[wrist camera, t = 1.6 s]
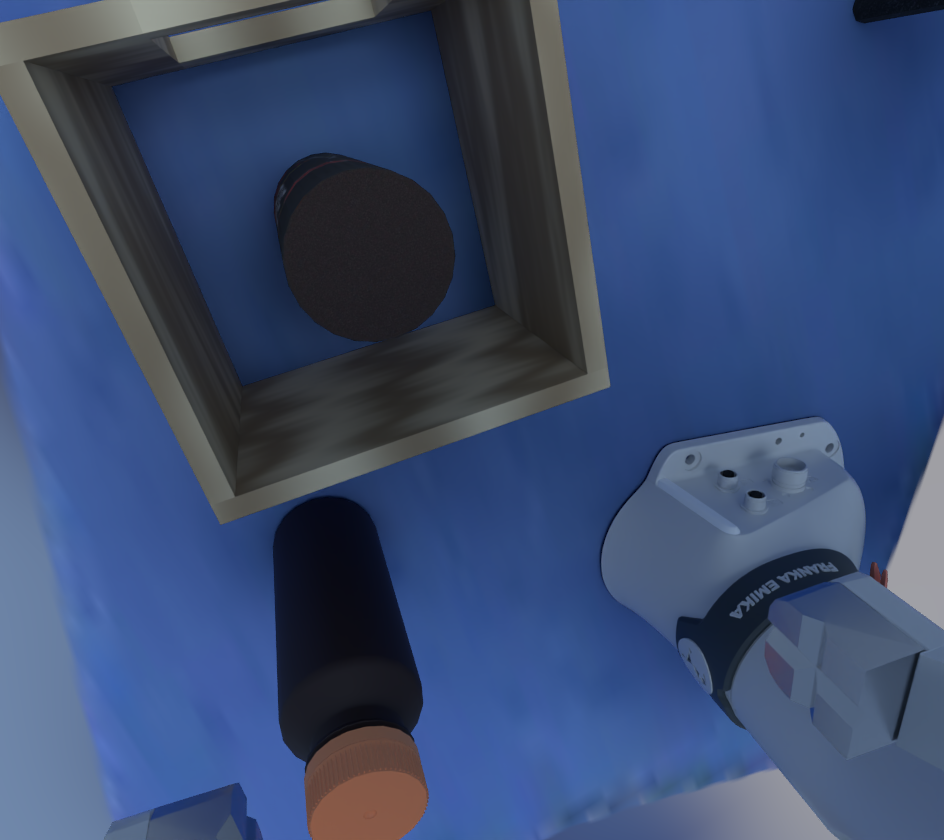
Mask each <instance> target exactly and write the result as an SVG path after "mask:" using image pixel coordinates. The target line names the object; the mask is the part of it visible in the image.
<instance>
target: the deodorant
mask: <svg viewBox="0 0 944 840" xmlns="http://www.w3.org/2000/svg"><path fill="white" fill-rule="evenodd" d="M274 215H275V221H276V226H277V232H278V238H279V243H280V249H281V254H282V260H283V265H284V269H285V273H286V277H287V281H288V285H289V287H290V289H291V291H292V293H293V295H294V296H295V298H296V300H297V302H298V304H299V306H300V307H301V308H302V309H303V310H304V311H305V312H306V313H307V314H308V315H309V316H310V317H311V318H312V319H313V320H314V322H316V323H317V324H319V325H320V326H322V327H323V328H325V329H327V330H328V331H330V332H331V333H333V334H335V335H338V336H341V337H345V338H348V339H351V340H354V341H369V342H378V341H383V340H388V339H393V338H398V337H400V336H402V335H404V334H406V333H408V332H410V331H412V330H414V329H416V328H417V327H418V326H420V325H421V324H422V323H423V322H424V321H426V320H427V319H428V318H429V317H430V316H431V315H432V314H433V313H434V312H435V310H436V309H437V307H438V306H439V305H440V303H441V302H442V301H443V299H444V298H445V295H446V293H447V290H448V288H449V285H450V283H451V280H452V278H453V270H454V262H455V250H454V242H453V234H452V231H451V229H450V226H449V224H448V221H447V219H446V216H445V214H444V212H443V210H442V209H441V208H440V206H439V205H438V204H437V202H436V201H435V200H434V198H433V197H432V195H431V194H430V193H428V192H427V191H426V190H425V189H423V188H422V187H421V186H420V185H418V184H417V183H416V182H415V181H413V180H412V179H409V178H407V177H405V176H403V175H400V174H398V173H396V172H393V171H391V170H388V169H385V168H382V167H378V166H375V165H372V164H369V163H365V162H362V161H359V160H356V159H353V158H349V157H346V156H343V155H338V154H331V153H320V154H313V155H310V156H307V157H305V158H303V159H301V160H298V161H297V162H296V163H295V164H293V165H292V166H291V167H290V168H289V169H288V170H287V171H286V172H285V174H284V175H283V177H282V178H281V180H280V181H279V183H278V186H277V190H276V193H275V196H274Z"/></svg>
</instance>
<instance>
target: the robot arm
mask: <svg viewBox="0 0 944 840" xmlns="http://www.w3.org/2000/svg"><path fill="white" fill-rule="evenodd" d="M688 455H689V457H688V458H687V459H686V457H687V456H688ZM865 528H866V513H865V505H864V500H863V496H862V493H861V491H860V488H859V487H858V485H857V483H856V481H855V480H854V479H853V477H852V476H851V475H850V474H849V473H848V472H847V471H846V470H845V469H844V460H843V452H842V447H841V444H840V440H839V438H838V436H837V433H836V432H835V430H834V429H833V427H832V426H831V425H830V424H829V423H828V422H827V421H825V420H824V419H823V418H821V417H811V418H805V419H800V420H794V421H789V422H784V423H778V424H773V425H767V426H762V427H757V428H751V429H746V430H740V431H735V432H730V433H724V434H719V435H714V436H708V437H703V438H697V439H692V440H687V441H681V442H676V443H672V444H669V445H667V446H666V447H665V448H663V449H662V450H661V452H660V453H659V455H658V456H657V458H656V460H655V462H654V463H653V466H652V468H651V470H650V472H649V474H648V477H647V479H646V480H645V482H644V483H643V484H642V486H641V487H640V488H639V489H638V490H637V491H636V492H635V494H634V495H633V496H632V497H631V498H630V499H629V500H628V501H627V502H626V504H625V505H624V506H623V507H622V509H621V510H620V511H619V513H618V514H617V516H616V518H615V519H614V521H613V523H612V525H611V527H610V529H609V531H608V533H607V536H606V539H605V542H604V546H603V550H602V557H601V569H602V576H603V580H604V583H605V585H606V587H607V589H608V591H609V592H610V594H611V595H612V596H613V597H614V598H615V599H616V600H617V601H618V602H619V603H621V604H622V605H624V606H626V607H627V608H629V609H630V610H632V611H633V612H635V613H636V614H638V615H639V616H640V617H642V618H643V619H644V620H646V621H647V622H648V623H649V624H650V625H652V626H653V627H654V628H655V629H656V630H657V631H658V632H659V633H661V634H662V635H663V636H664V637H665V638H666V639H667V640H668V641H669V642H670V643H671V644H672V645H673V646H674V647H675V648H676V649H677V650H678V652H679V654H680V656H681V658H682V660H683V661H684V663H685V665H686V666H687V668H688V669H689V671H690V672H691V674H692V675H693V677H694V678H695V679H696V681H697V682H698V683H699V685H700V686H701V687H702V688H703V689H704V690H705V692H706V693H708V694H709V695H710V696H711V697H712V699H713V700H714V701H715V702H716V703H717V704H718V706H719V707H720V708H721V709H722V710H723V711H724V713H725V714H726V715H727V716H728V717H729V718H730V720H731V721H732V722H734V723H735V724H736V725H737V726H739V727H741V728H743V729H746V730H747V731H748V732H749V733H750V734H751V736H752V737H753V738H754V739H755V740H756V742H757V743H758V744H759V745H760V747H761V748H762V749H763V750H764V752H765V753H766V754H767V755H768V756H769V758H770V759H771V760H772V761H773V763H774V764H775V765H776V766H777V767H778V769H779V770H780V771H781V772H782V774H783V775H784V776H785V777H786V779H788V781H789V782H790V783H791V785H792V786H793V787H794V788H795V790H796V791H797V792H798V793H799V794H800V796H801V797H802V798H803V799H804V800H805V802H806V803H807V804H808V805H809V807H810V808H811V809H812V810H813V812H814V813H815V814H816V815H817V817H818V818H819V819H820V820H821V822H822V823H823V824H824V825H825V826H826V828H827V829H828V830H829V831H830V832H831V833H832V834H833V835H834V836H836V837H837V838H838V839H839V840H944V630H943V629H942V628H940V627H939V626H937V625H936V624H935V623H933V622H932V621H931V620H929V619H928V618H926V617H925V616H924V615H922V614H921V613H920V612H918V611H917V610H916V609H914V608H913V607H911V606H910V605H909V604H907V603H906V602H905V601H903V600H902V599H900V598H899V597H898V596H896V595H895V594H894V593H892V592H891V591H890V590H888V589H887V582H888V578H887V576H888V574H887V570H883V573H882V576H881V575H880V572H879V569H878V566H877V563H875V562H872V564H871V570H870V576H869V575H867V574H864V573H861V572H859V567H860V562H861V558H862V553H863V547H864V540H865ZM880 576H881V580H880ZM246 814H247V798H246V796H245V794H244V792H243V790H242V788H241V786H240V784H239V783H235V784H231V785H228V786H225V787H222V788H219V789H215V790H212V791H209V792H206V793H202V794H199V795H196V796H193V797H189V798H186V799H183V800H180V801H177V802H173V803H170V804H167V805H164V806H160V807H157V808H154V809H151V810H148V811H145V812H142V813H139V814H136V815H133V816H130V817H127V818H124V819H121V820H118V821H114V822H112V824H111V826H110V828H109V830H108V832H107V834H106V836H105V838H104V840H263V838H262V834H261V831H260V828H259V826H258V823H257V821H256V819H253V818H251V817H248V816H246Z"/></svg>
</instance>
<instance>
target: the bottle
mask: <svg viewBox="0 0 944 840" xmlns="http://www.w3.org/2000/svg"><path fill="white" fill-rule="evenodd" d="M273 558H274V589H275V619H276V650H277V680H278V711H279V724H280V729H281V733H282V737H283V741H284V743H285V744H286V745H287V746H288V748H289V749H290V750H291V751H292V753H293V754H294V755H295V756H296V757H297V758H299V759H301V760H303V761H305V762H306V766H305V778H304V784H305V796H306V811H307V826H308V831H309V834H310V837H312V840H399V839H401V838H402V837H403V836H404V835H405V834H407V833H408V832H409V831H411V829H413V828H414V827H415V825H416V824H417V822H418V821H420V818H421V817H423V814H424V813H425V812H424V810H426V806H428V805H427V803H428V799H429V797H428V796H429V794H428V788H427V785H426V781H425V777H424V773H423V769H422V765H421V761H420V757H419V753H418V749H417V746H416V745H415V743H414V738H413V737H412V735H411V734H410V733H411V732H412V730H413V729H414V727H415V726H416V724H417V723H418V720H419V716H420V713H421V710H422V707H423V696H422V686H421V681H420V678H419V674H418V671H417V667H416V664H415V661H414V657H413V654H412V650H411V647H410V643H409V640H408V637H407V633H406V630H405V626H404V623H403V619H402V616H401V613H400V609H399V606H398V602H397V599H396V595H395V592H394V589H393V585H392V582H391V578H390V575H389V571H388V568H387V565H386V561H385V558H384V554H383V551H382V547H381V544H380V541H379V537H378V534H377V530H376V527H375V525H374V523H373V521H372V519H371V518H370V516H369V514H368V513H367V512H365V511H364V510H363V509H362V508H361V507H359V506H358V505H357V504H355V503H352V502H350V501H347V500H345V499H338V498H322V499H316V500H311V501H309V502H307V503H305V504H303V505H300V506H298V507H296V508H295V509H294V510H293V511H292V512H291V513H289V514H288V515H287V516H286V517H285V518H284V519H283V521H282V523H281V524H280V526H279V528H278V529H277V531H276V534H275V539H274V544H273Z"/></svg>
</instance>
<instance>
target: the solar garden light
mask: <svg viewBox="0 0 944 840" xmlns="http://www.w3.org/2000/svg"><path fill="white" fill-rule="evenodd" d="M943 9H944V0H856V1H855V4H854V7H853V12H854V15H855V19H856V21H859V22H862V23H868V22H874V21H880V20H886V19H891V18H897V17H903V16H908V15H914V14H920V13H926V12H931V11H937V10H943Z"/></svg>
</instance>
